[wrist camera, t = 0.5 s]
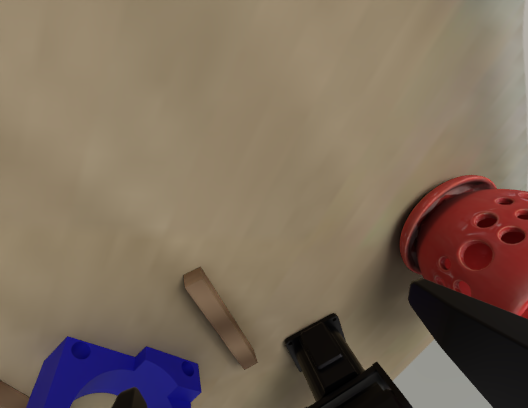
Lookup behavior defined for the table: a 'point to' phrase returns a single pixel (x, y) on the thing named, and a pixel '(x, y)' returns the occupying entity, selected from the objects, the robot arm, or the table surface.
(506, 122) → the table surface
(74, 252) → the table surface
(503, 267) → the plant pot
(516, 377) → the robot arm
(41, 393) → the cable clip
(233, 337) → the brown wooden bars
